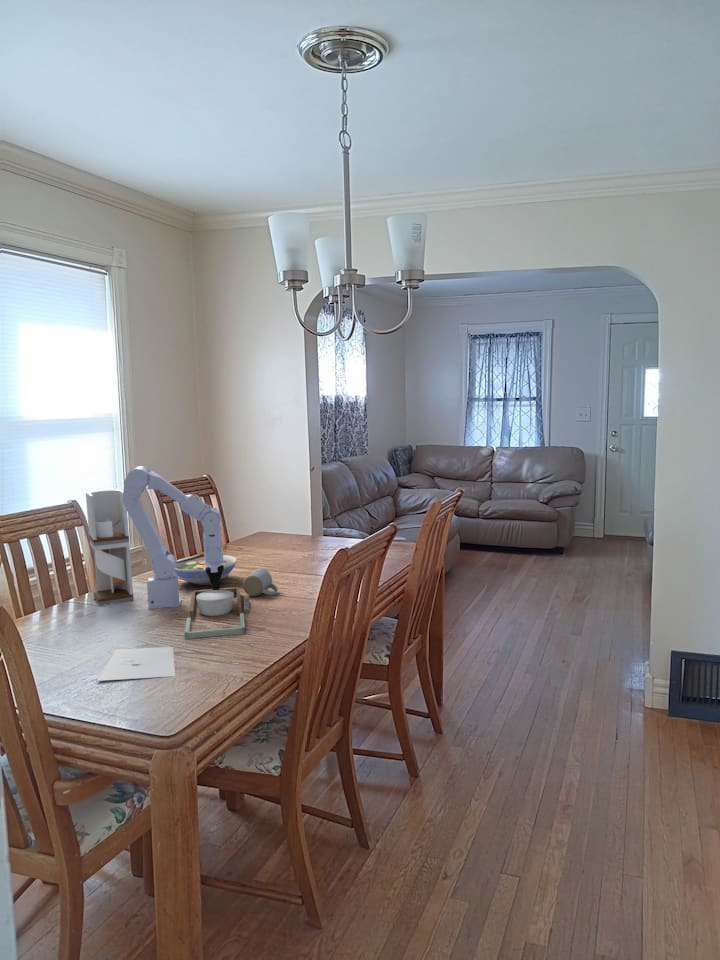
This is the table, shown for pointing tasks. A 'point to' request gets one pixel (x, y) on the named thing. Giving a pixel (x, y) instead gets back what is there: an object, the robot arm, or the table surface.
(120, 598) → the white toy tower
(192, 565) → the ramen bowl
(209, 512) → the robot arm
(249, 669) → the table surface
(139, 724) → the table surface
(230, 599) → the ramekin
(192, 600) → the brown wooden flat frame
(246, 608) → the grey metal bar
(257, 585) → the ceramic mug
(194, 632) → the sage bay
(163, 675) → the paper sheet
